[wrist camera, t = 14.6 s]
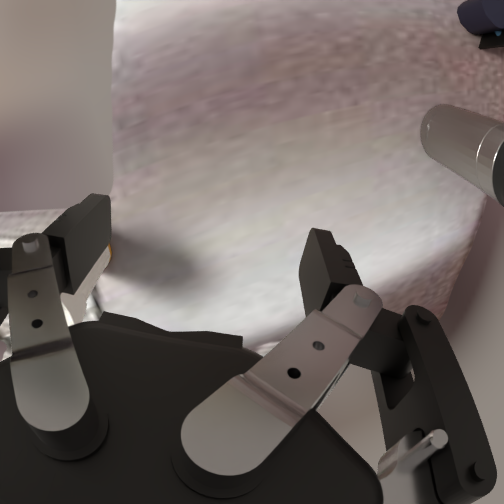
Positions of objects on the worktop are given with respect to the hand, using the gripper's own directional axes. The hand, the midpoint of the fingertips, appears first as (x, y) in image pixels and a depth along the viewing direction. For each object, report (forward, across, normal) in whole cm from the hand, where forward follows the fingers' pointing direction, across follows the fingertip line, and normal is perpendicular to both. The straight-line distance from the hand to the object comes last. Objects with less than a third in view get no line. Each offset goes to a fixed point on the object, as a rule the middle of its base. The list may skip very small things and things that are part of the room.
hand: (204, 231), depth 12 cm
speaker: (+32, -30, -26) cm, 51 cm away
